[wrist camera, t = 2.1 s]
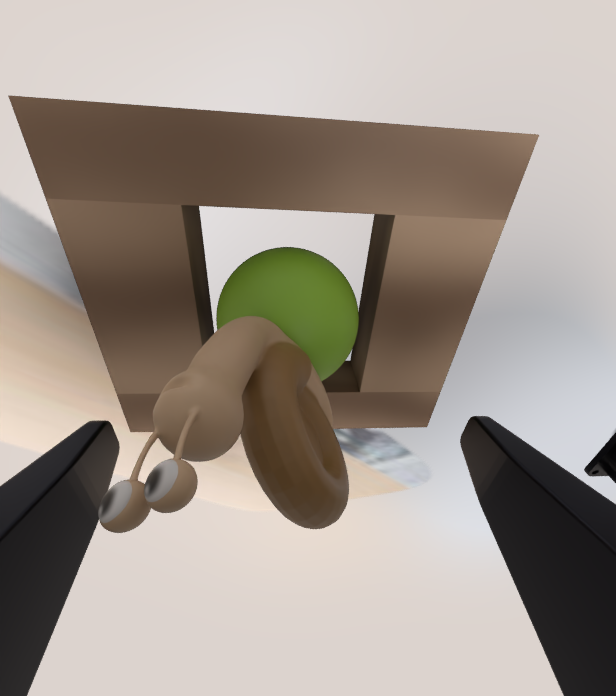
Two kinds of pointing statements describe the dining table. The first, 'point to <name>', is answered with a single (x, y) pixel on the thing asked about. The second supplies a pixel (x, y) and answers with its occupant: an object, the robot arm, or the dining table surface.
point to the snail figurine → (257, 395)
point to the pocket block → (284, 194)
